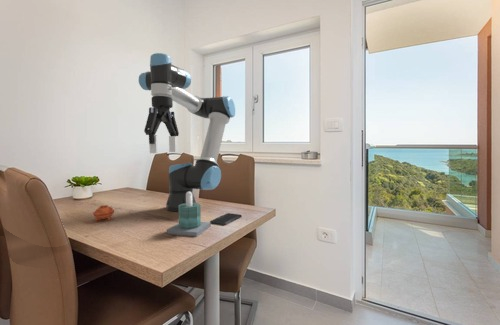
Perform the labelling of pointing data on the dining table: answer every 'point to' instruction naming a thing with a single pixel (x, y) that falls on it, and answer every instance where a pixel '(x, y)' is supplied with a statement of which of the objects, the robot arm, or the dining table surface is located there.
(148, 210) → the dining table surface
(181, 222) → the bead
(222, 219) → the phone
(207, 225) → the spindle plate
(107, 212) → the pot
